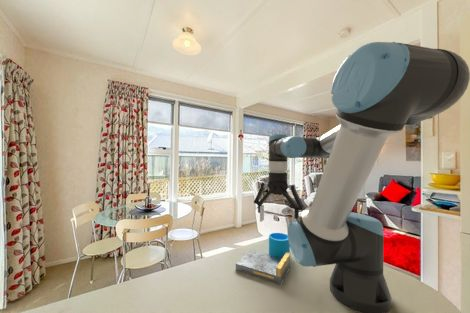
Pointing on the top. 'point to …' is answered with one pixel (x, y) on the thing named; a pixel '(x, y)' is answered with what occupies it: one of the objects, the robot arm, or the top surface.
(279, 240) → the mug
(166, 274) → the top surface
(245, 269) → the ledge
